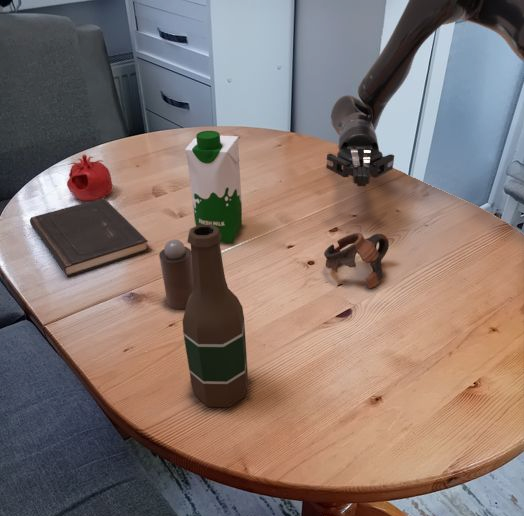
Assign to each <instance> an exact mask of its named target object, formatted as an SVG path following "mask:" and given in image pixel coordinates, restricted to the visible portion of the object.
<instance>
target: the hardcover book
mask: <svg viewBox="0 0 524 516" xmlns="http://www.w3.org/2000/svg"><path fill="white" fill-rule="evenodd" d="M29 223H30V225H31V227H32V229H33V230H34V231H35V233H36V234H37V236H38V237H39V239H40V240H41V241H42V243H43V244H44V246H45V247H46V248H47V251H48V252H49V253H50V254H51V256H52V258H54V260H55V262H56V263H57V264H58V266H59V268H61V270H62V271H63V273H64V275H66V276H67V277H69V278H70V277H74V276H77V275H80V274H83V273H86V272H89V271H92V270H95V269H98V268H102V267H104V266H107V265H110V264H114V263H116V262H119V261H123V260H126V259H129V258H132V257H134V256H135V257H136V256H138V255H141V254H144V253H148V252H150V248H148V247H147V244H146V243H148V242H149V241H148V240H147V238H146V237H145V236H144V235H142V234H141V232H140V231H138V230H137V228H136V227H134V226H133V225H132V224H131V222H129V221H128V220H127V219H126V218H125V217H124V216H123V215H122V214H121V213H120V212H119V211H118V210H117V208H115V207H114V206H113V205H112V204H111V203H110V202H109V201H108V200H107V199H106V198H105V197H103V198H100V199H97V200H93V201H85V202H83V203H79V204H75V205H72V206H71V205H70V206H68V207H67V206H66V207H64V208H60V209H57V210H53V211H50V212H46V213H42V214H38V215H34V216H32V217H30V219H29Z"/></svg>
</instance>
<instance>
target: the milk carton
mask: <svg viewBox="0 0 524 516" xmlns="http://www.w3.org/2000/svg"><path fill="white" fill-rule="evenodd" d="M239 148H240V147H239V136H238V135H237V136H236V135H221V134H220V132H218V131H217V130H203V131H200V132H198V133H197V134H196V135H195V138H193V139H192V140H191V142H190V143H189V144H188V145H187V146H186V147H185V148H184V150H185V151H184V152H185V157H186V162H187V166H188V167H187V168H188V175H189V184H190V191H191V192H190V193H191V201H192V207H193V217H194V223H195V227H196V226H198V225H213V226H215V227H217V228H218V229H219V231H220V233H221V240H220V242H219V243H220V244H221V243H222V244H231V245H232V244H233V243H234V242H235V240H236V238H237V236H238V234H239V232H240V231H241V230H242V229H241V228H242V226H243V225H242V223H243V201H242V184H241V169H240V149H239Z"/></svg>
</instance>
